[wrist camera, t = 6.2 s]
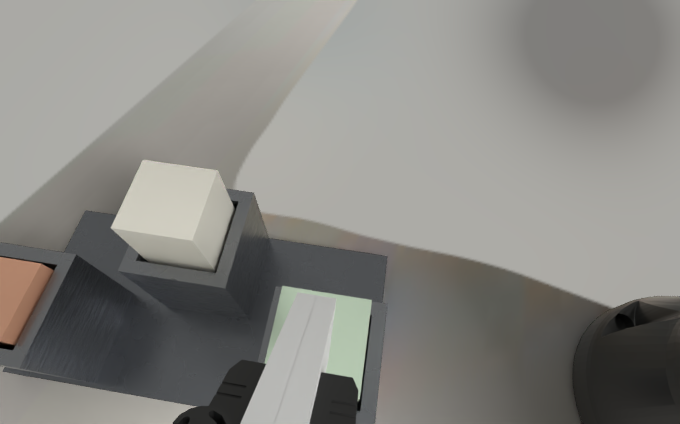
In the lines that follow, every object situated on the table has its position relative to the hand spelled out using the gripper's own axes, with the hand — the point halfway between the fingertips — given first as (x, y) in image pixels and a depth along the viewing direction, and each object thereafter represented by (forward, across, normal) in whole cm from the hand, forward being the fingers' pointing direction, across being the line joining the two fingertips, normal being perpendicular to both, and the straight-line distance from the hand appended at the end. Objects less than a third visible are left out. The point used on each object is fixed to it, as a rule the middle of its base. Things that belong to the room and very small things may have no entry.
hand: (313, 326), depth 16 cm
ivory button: (+13, -9, -4) cm, 16 cm away
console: (+14, -10, -10) cm, 20 cm away
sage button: (+8, 0, -8) cm, 12 cm away
